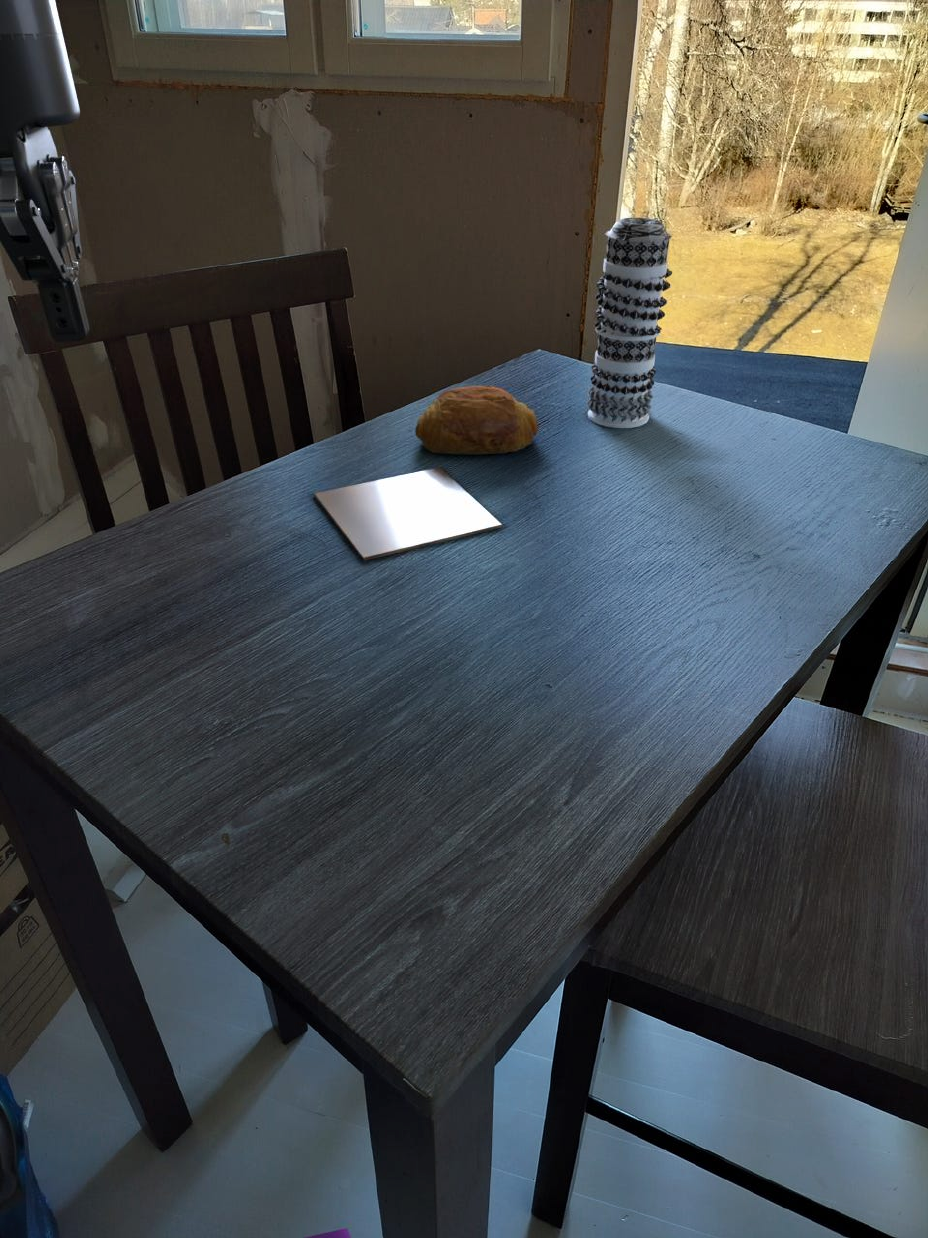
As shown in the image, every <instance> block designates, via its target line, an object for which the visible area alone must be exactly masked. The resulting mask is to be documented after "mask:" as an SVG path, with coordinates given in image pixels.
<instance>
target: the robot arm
mask: <svg viewBox="0 0 928 1238" xmlns="http://www.w3.org/2000/svg"><path fill="white" fill-rule="evenodd" d="M80 116H81V110H80V105H79V100H78V97H77V91H76V87H75V82H74V79H73V73H72V69H71V66H70V60H69V57H68V52H67V48H66V43H65V38H64V34H63V30H62V26H61V20H60V17H59V11H58V8H57V3H56V0H0V244H1V246H2V247H3V249H4V251H5V252H6V254H7V256H8V257H9V259H10V261H11V263H12V265H13V267H14V269H15V270H16V271H17V274H18V275H19V277H20V278H21V280H22V281H23V282H24V281H25V282H29V281H30V282H31V284H33V285H36V286H37V290H38V294H39V298H40V300H41V304H42V308H43V311H44V315H45V318H46V322H47V326H48V329H49V333H50V336H51V338H52V339H53V340H54V341H56V342H58V343H66V342H67V343H69V342H82V341H84V340H86V339H85V338H86V337H87V336H88V334H89V332H90V323H89V320H88V315H87V312H86V307H85V303H84V299H83V296H82V292H81V287H80V284H79V280H78V277H79V275H80V270H81V267H80V263H79V261H78V260H82V254H83V248H82V245H81V235H80V224H79V214H78V213H79V212H78V202H77V191H76V184H77V182H76V178H75V176H74V175H73V172H72V171H71V170H69V166H68V163H67V160H66V158H65V156H58V151H57V148H56V144H55V142H54V139H53V136H52V133H51V130H50V128H52V127H59V126H65V125H69V124H73V123H75V122H76V121H77V120H79V118H80ZM49 127H50V128H49Z"/></svg>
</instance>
